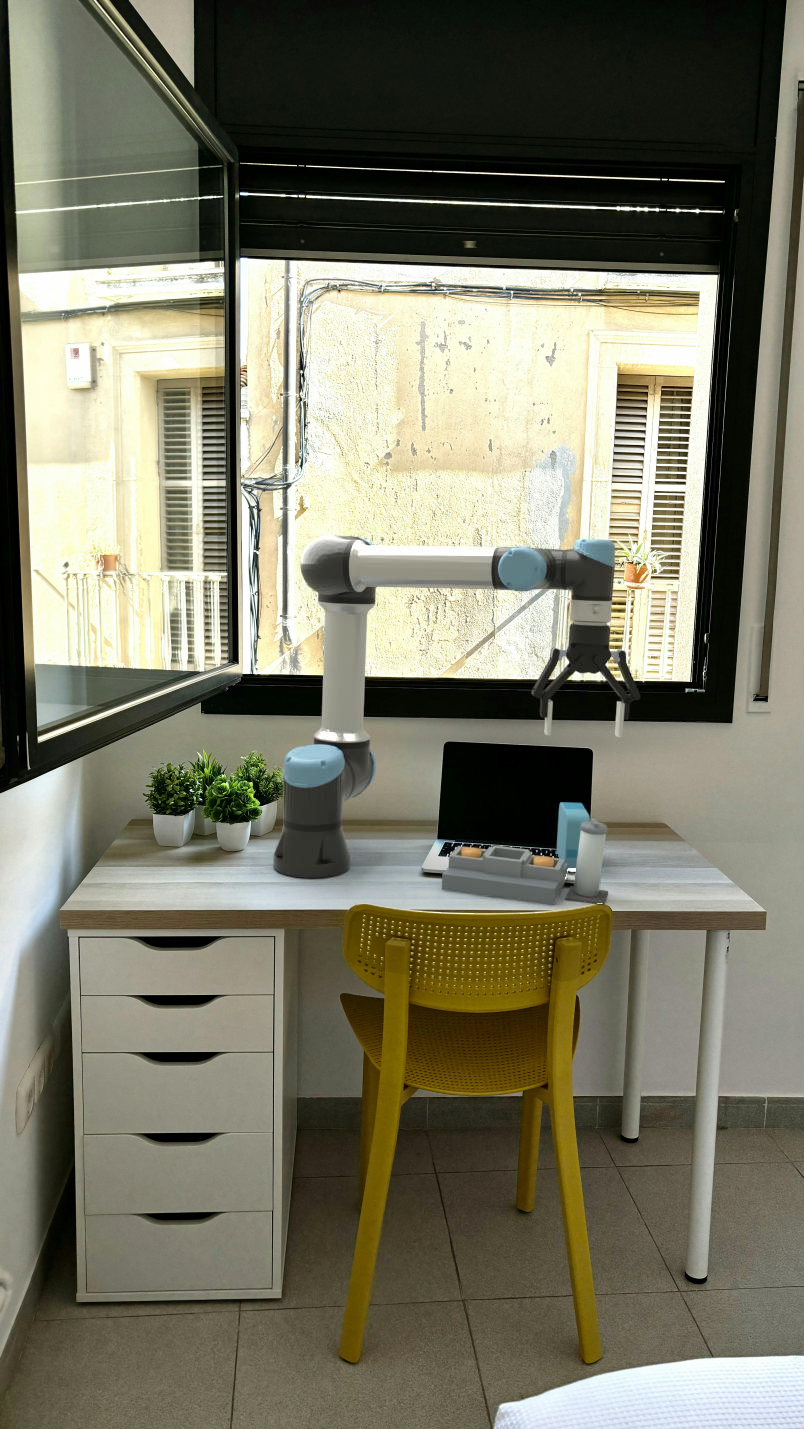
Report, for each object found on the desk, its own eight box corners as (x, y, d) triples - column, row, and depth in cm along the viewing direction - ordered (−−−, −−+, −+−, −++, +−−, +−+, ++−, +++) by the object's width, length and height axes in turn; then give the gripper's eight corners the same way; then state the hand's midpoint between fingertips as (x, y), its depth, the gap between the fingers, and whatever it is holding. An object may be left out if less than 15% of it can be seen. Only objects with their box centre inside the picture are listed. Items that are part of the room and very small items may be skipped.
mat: (564, 899, 180) (565, 897, 180) (570, 888, 187) (570, 886, 187) (603, 905, 178) (603, 903, 178) (607, 893, 185) (608, 890, 185)
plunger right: (531, 873, 184) (531, 860, 184) (534, 867, 188) (535, 855, 187) (551, 876, 183) (552, 863, 183) (554, 870, 187) (555, 857, 186)
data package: (586, 875, 195) (590, 816, 193) (563, 874, 195) (567, 815, 193) (577, 856, 207) (581, 801, 205) (556, 855, 207) (559, 800, 205)
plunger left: (458, 864, 188) (459, 851, 188) (463, 858, 192) (464, 846, 191) (478, 866, 187) (478, 854, 187) (482, 861, 191) (483, 848, 190)
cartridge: (570, 886, 185) (579, 816, 183) (595, 888, 186) (604, 818, 183) (575, 895, 181) (584, 824, 178) (601, 897, 181) (610, 826, 179)
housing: (441, 889, 184) (442, 858, 183) (462, 864, 199) (464, 836, 198) (553, 904, 177) (555, 872, 176) (566, 878, 192) (568, 848, 191)
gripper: (526, 622, 179) (520, 737, 182) (662, 626, 180) (653, 740, 183) (520, 619, 186) (514, 730, 190) (650, 623, 187) (642, 733, 191)
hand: (583, 735), depth 186 cm, fingers open, 13 cm apart
